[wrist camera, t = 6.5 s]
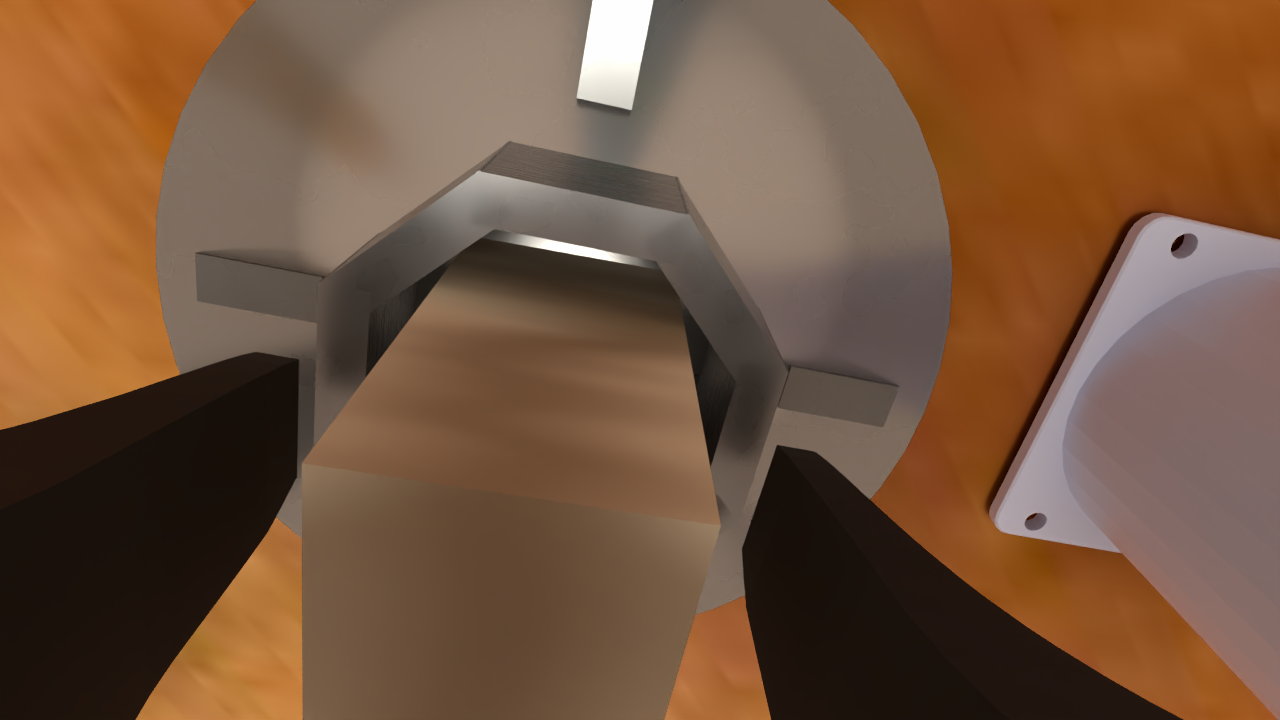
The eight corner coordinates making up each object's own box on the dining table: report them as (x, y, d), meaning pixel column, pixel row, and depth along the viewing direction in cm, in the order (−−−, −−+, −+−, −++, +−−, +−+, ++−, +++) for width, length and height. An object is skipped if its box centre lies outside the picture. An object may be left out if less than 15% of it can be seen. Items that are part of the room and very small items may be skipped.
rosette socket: (1063, 13, 13) (1224, 9, 10) (803, 644, 20) (843, 782, 16) (161, -213, 12) (-48, -320, 8) (200, 553, 18) (94, 684, 15)
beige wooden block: (674, 272, 14) (720, 525, 7) (636, 442, 16) (643, 791, 9) (472, 235, 14) (301, 463, 7) (454, 414, 16) (302, 752, 8)
